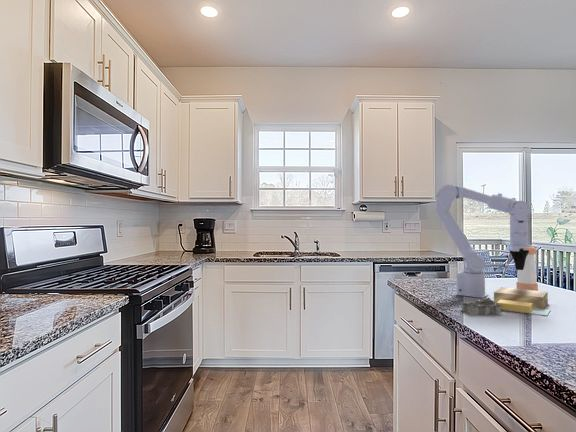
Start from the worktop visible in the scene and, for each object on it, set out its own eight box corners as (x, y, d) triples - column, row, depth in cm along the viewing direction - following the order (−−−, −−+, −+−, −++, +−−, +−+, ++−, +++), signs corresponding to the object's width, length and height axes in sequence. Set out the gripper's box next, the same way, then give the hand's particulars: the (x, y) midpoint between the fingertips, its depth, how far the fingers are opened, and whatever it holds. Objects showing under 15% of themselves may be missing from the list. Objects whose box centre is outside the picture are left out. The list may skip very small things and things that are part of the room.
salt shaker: (542, 293, 145) (541, 244, 146) (523, 293, 145) (522, 244, 146) (530, 289, 152) (529, 243, 153) (512, 289, 153) (511, 243, 153)
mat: (481, 307, 122) (481, 306, 122) (487, 302, 129) (487, 302, 129) (547, 316, 110) (547, 315, 110) (550, 310, 117) (550, 309, 117)
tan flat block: (494, 303, 127) (493, 292, 127) (501, 298, 136) (501, 287, 136) (543, 309, 118) (542, 297, 118) (547, 303, 127) (547, 291, 127)
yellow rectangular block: (500, 299, 123) (500, 305, 123) (496, 302, 119) (496, 308, 119) (532, 303, 118) (532, 309, 118) (529, 306, 113) (529, 313, 113)
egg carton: (490, 309, 120) (490, 297, 120) (504, 315, 113) (504, 302, 113) (458, 309, 120) (458, 297, 120) (470, 315, 113) (470, 302, 113)
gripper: (528, 233, 129) (529, 272, 129) (534, 232, 140) (535, 268, 140) (505, 233, 134) (506, 271, 133) (513, 232, 145) (514, 267, 144)
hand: (519, 269), depth 137 cm, fingers closed
